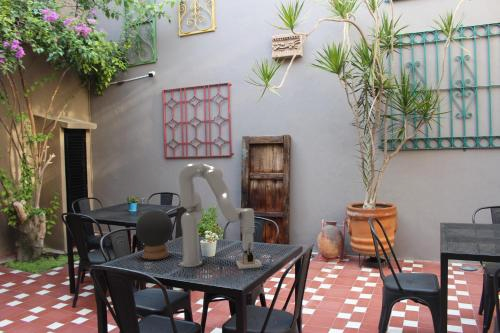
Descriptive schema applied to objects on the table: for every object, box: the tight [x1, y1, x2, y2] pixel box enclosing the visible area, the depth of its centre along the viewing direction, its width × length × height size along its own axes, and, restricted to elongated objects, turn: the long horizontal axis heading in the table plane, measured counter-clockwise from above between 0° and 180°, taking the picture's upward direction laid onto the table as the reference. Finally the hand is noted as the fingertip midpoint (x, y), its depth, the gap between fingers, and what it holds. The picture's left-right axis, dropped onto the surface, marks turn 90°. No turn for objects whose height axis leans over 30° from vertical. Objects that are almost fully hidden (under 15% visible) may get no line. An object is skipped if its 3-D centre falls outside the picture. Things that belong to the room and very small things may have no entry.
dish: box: [235, 259, 263, 270], centre depth 255 cm, size 10×13×2 cm
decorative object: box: [135, 209, 174, 261], centre depth 282 cm, size 23×23×30 cm
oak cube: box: [242, 252, 256, 264], centre depth 255 cm, size 6×6×6 cm
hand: (248, 259), depth 255 cm, fingers open, 9 cm apart
